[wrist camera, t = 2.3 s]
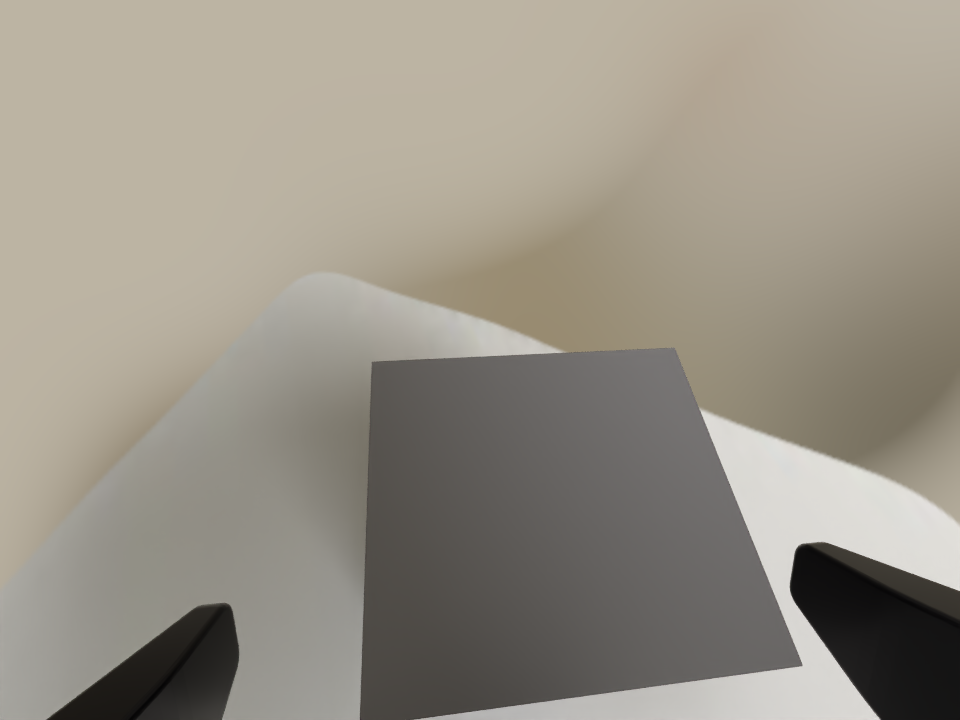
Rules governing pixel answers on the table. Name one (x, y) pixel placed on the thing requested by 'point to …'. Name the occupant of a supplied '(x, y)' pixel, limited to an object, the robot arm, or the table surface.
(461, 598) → the block
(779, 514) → the table surface
